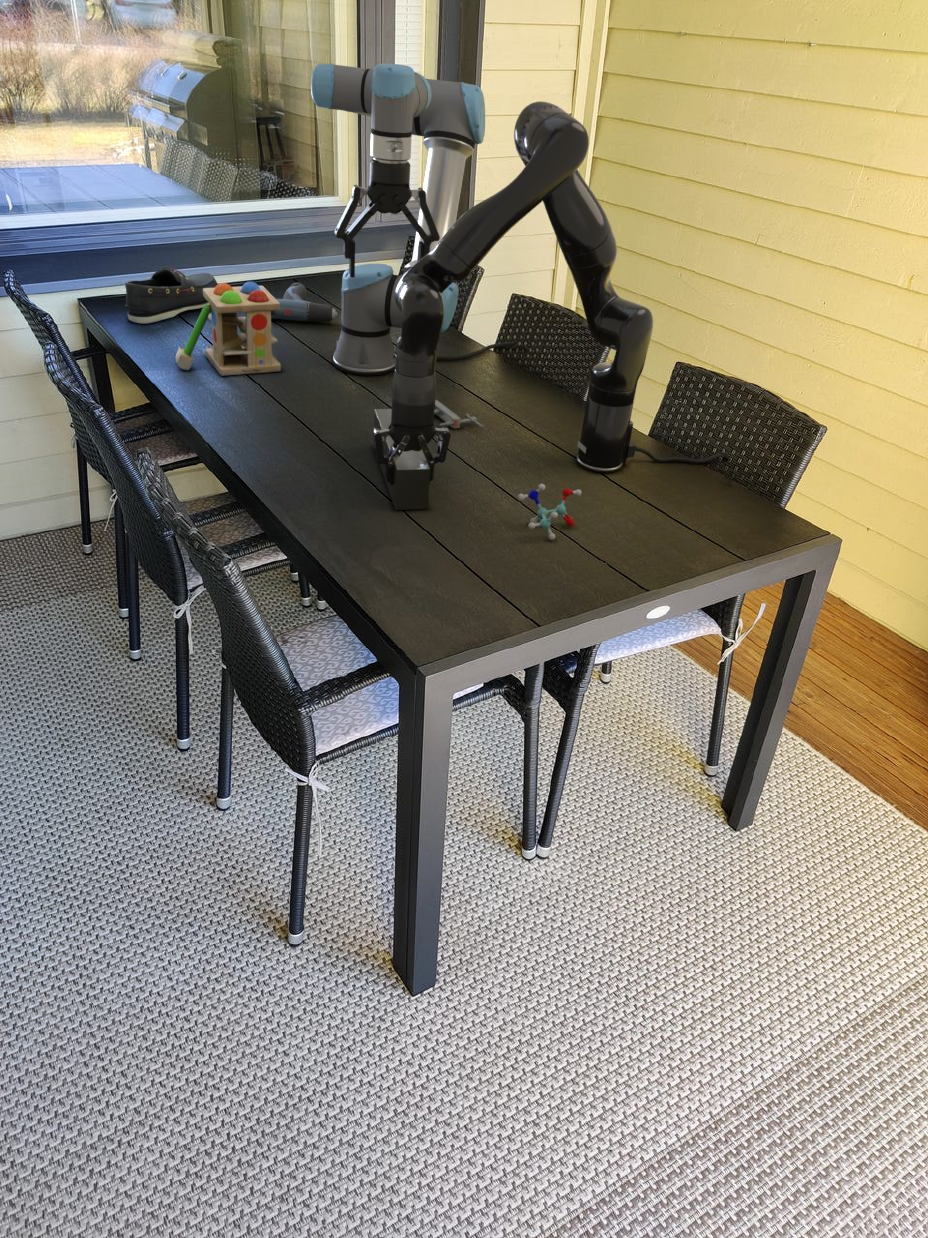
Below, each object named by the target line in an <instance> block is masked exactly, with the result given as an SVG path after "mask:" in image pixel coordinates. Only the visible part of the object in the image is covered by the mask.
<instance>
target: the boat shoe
mask: <svg viewBox="0 0 928 1238" xmlns="http://www.w3.org/2000/svg"><path fill="white" fill-rule="evenodd" d="M217 285H218V281H217V280H216V278H215V277H214V275H213V274H211V273H208V272H202V273H196V274H191V275H187V276H186V275H185V273H183V272H181V271H180V270H177V269H175V268H170V267H166V266H165V267H162V268H160V269H158V270H157V271H155V272H154V273H153V274H152V276H151V277H150V278H149V279H141V280H127V281H126V282H125V283H124V287H125V293H126V294H125V295H126V296H125V301H126V302H125V304H124V308H126V309H127V319H128V320H129V322H133V323H137V324H152V323H155V322H160V321H163V320H167V319H170V318H174V317H175V316H177V315H179V314H180V313H183V312H185V311H190V310H197V309H203V307H204V305H208V306H211V305H210V304H209V302H208V301H207V300H206V299H205V297H204V296H203V289H204V288H215V287H216V286H217Z"/></svg>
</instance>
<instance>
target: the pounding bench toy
mask: <svg viewBox="0 0 928 1238" xmlns="http://www.w3.org/2000/svg"><path fill="white" fill-rule="evenodd" d="M203 296H204V297H205V299H206V300H207V301H208V302H209V304H210V305H209V306H208V305H204V307H203V308H201V312H200V313H199V316H198V318H197V320H196V322H195V324H194V327H193V329H192V331H191V332H190V333H191V334H190V336H189V338H188V340H187V343H186V344H185V347H184V348H182V347H180V346H179V347H178V349H177V351H176V354H175V357H174V358H175V362H176V365H177V366H178V368H179V369H182V370H185V371H189V370H190V369H191V367H192V365H193V363H194V356H193V351H194V348H195V347H196V345H197V342H198V340H199V337H200V336H201V333H202V332H203V329H204V326H205V325H206V322H207V320H209V321H210V322H211V336H212V337H211V338H212V339H211V340H212V348H205V349H204V352H205V353H204V355H205V357H206V359H208V361H209V363H210V364H211V365H212V366H213V367H214V369H215V370H216V371H217V372H218V374H219V375H220V376H222V377H223V376H234V375H235V376H236V375H246V374H247V375H250V374H262V373H275V372H281V370H282V364H281V363H280V362H279V360H278V359H277V358H276V357H275V356H274V355H273V348H272V347H273V345H272V344H276V343H278V342H279V341H278V339H277V338H276V337H275V336H274V334H272V318H271V310H280V303H279V302H278V301H277V300H276V299H277V298H276V297H274V296H273V295H272V294H271V293H270V292H269V290H268V289H267V288H266V287H264V285H259V284H257V283H256V282H255V281H247V282H245V283H244V284H243V285H242V286H232V285H230V284H229V283H226V282H221V283H217V286H216V287H215V288H204V289H203ZM238 313H244V314H245V315H244V316H238ZM238 329H239V331H240V333H239V334H238Z"/></svg>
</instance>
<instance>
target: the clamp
mask: <svg viewBox="0 0 928 1238" xmlns="http://www.w3.org/2000/svg"><path fill="white" fill-rule="evenodd" d="M434 415H436V416H437V417H438V418H439V419H441V420H442V421H444V422H441V423H439V427H449V426H450V427H451V428H452V429H460V428H461V425H462V424H468V423H469V424H476V425H477V426H479V427H480V429H481V430H485V428H486V426H485V424H482V423H480V422H478V418H477V416H470V414H469V413H467V412H466V413H465V414H464V417H465V418H464V419H462V418H461V417H460V416H459V415H457V414H456V413H455V412H453V411H452V410H450V409H449V408H448V407H447V406H445V404H443V403H442V402H440V401H439V400H438V399H435V412H434Z"/></svg>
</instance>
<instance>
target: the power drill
mask: <svg viewBox="0 0 928 1238" xmlns="http://www.w3.org/2000/svg"><path fill="white" fill-rule="evenodd" d="M307 295H308V290H307V287H306V285H304V284H303V283H301V282H293V283H292V284H291V285H290V286H289V287H288V288H287V289H286V291H285V292H284V294H283V297H282V298H275V299H276V300H277V301H278V302H279V303H280V310H271V319H274V320H275V319H276V320H283V321H294V322H295V321H297V322H332V321H333V320H334V319H336V318H337V317H338V312H337V311H336V308H334V307H333V306H332V305H331V304H324V303H317V302H313V301H307V300H305V299H306V297H307Z"/></svg>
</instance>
